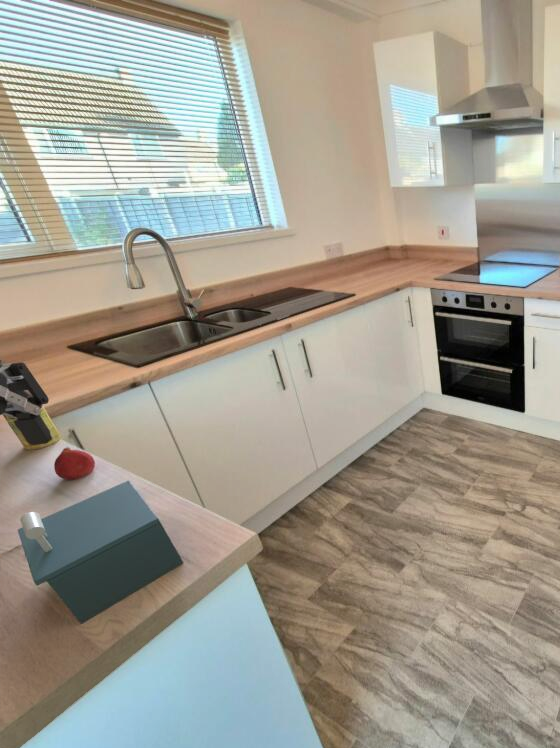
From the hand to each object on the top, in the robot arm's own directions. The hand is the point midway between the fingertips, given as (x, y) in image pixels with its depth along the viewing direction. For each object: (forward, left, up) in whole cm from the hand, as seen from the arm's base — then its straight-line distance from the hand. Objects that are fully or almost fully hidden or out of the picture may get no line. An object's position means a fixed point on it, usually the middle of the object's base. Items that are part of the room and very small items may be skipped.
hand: (15, 462), depth 51 cm
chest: (+2, +7, -25) cm, 26 cm away
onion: (+4, +43, -26) cm, 50 cm away
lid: (+2, +7, -16) cm, 18 cm away
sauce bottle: (+1, +67, -26) cm, 72 cm away
